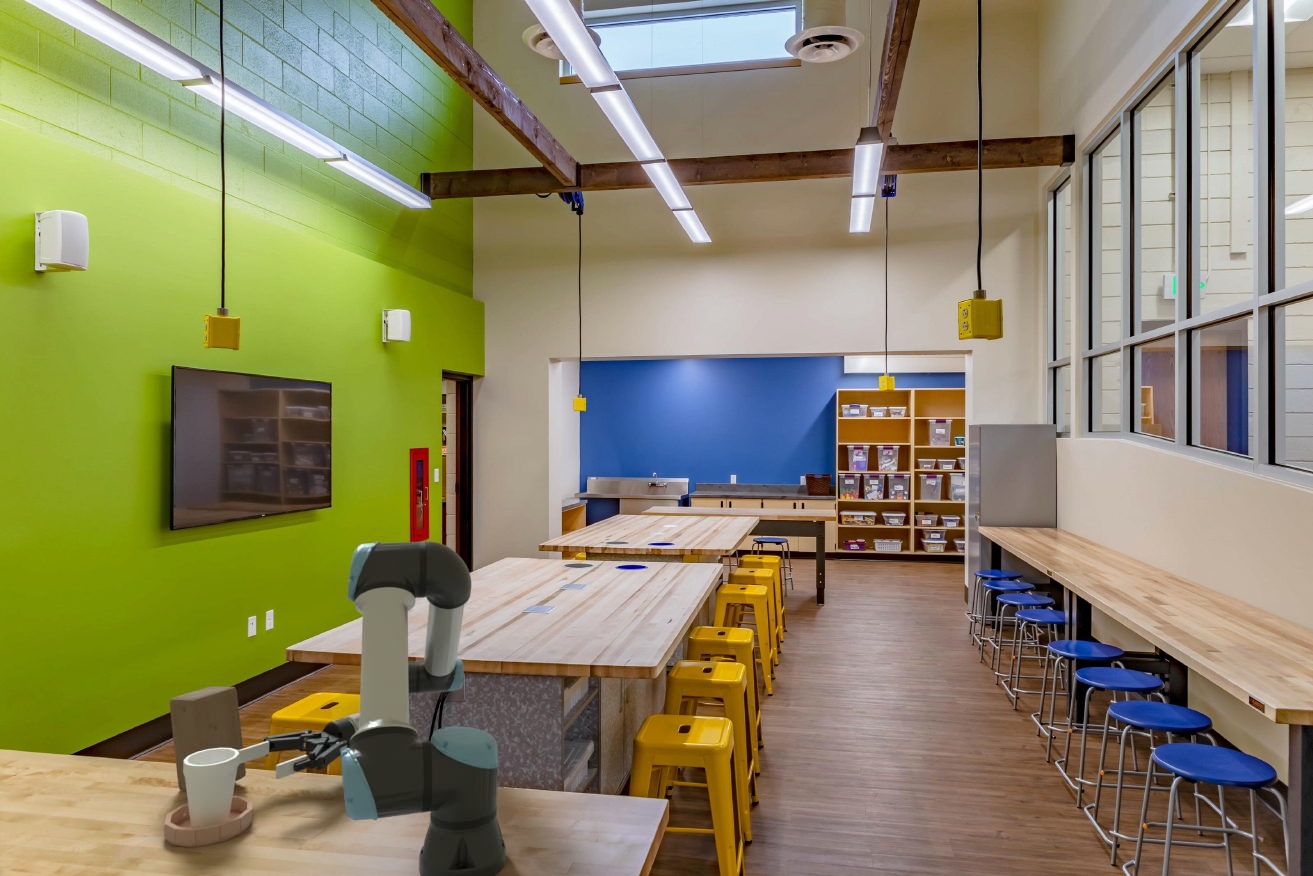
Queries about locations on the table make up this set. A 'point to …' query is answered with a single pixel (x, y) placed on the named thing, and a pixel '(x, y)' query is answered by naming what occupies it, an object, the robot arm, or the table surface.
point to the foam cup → (210, 785)
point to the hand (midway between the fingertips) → (257, 764)
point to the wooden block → (205, 725)
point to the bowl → (185, 836)
